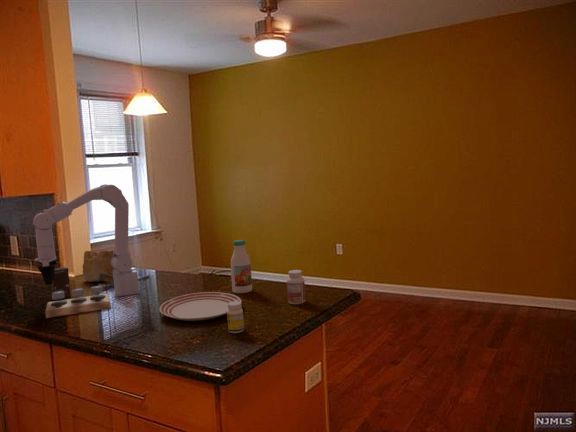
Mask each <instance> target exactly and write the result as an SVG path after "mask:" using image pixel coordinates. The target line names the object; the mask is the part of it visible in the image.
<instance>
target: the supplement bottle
mask: <svg viewBox="0 0 576 432" xmlns="http://www.w3.org/2000/svg"><path fill="white" fill-rule="evenodd" d="M226 316H227V329H228V332H229V333H231V334H238V333H242V332H244V330H245V321H244V310H243V308H242V301H241V302H238V301H234V302H230V303H228V310H227V314H226Z"/></svg>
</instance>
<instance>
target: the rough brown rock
mask: <svg viewBox="0 0 576 432" xmlns="http://www.w3.org/2000/svg"><path fill="white" fill-rule="evenodd" d="M113 251H114V249H113V250H99V251H98V252H97V251H94V250H93V251H92V250H86V251H84V253H83V264H82V276H83V279H84V280H85V281H86V282H89V283H91V282H104V283H106V284H108V285H111V284H114V279H113V270H114V268H113V267H112V265H111V259H112V257H113Z"/></svg>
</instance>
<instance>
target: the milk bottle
mask: <svg viewBox="0 0 576 432" xmlns="http://www.w3.org/2000/svg"><path fill="white" fill-rule="evenodd" d="M232 243H233V247H234V250H233V253H232V256H231V258H230V273H231V274H230V275H231V290H232V292H233V293H234V294H247V293H249V292H252V291H253V280H252V265H251V264H252V263H251V259H250V256H249V254H248V252H247V250H246V240H245V239H236V240H233V241H232Z"/></svg>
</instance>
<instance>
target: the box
mask: <svg viewBox="0 0 576 432" xmlns="http://www.w3.org/2000/svg"><path fill="white" fill-rule="evenodd" d="M69 273H70V272H69V268H68V266H63V267H55V273H54V280H53V282H52V284H51V286H52V287H51V288H52V293H54V292H58V291H64V296H65V297H64V298H62V299H61V300H64V299H71V296H72V294H71V284H70V276H69V275H70V274H69Z"/></svg>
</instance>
